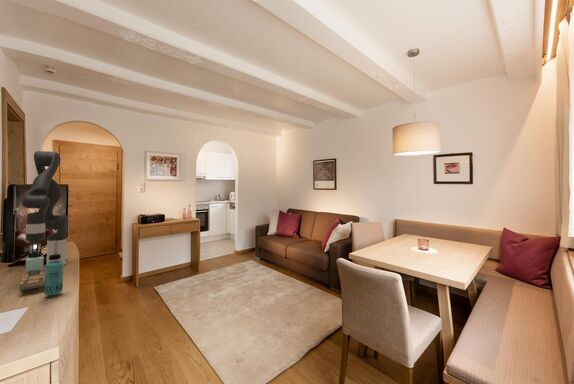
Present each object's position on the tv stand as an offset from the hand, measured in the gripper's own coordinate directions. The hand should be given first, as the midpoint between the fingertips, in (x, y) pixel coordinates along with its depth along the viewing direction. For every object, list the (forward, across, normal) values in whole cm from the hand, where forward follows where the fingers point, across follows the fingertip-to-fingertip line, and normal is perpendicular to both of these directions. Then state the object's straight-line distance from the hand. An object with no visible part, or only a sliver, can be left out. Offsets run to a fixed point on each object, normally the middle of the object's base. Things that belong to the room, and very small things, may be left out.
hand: (34, 263), depth 133 cm
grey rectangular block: (+4, +5, 0) cm, 6 cm away
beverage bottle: (+10, +30, +7) cm, 32 cm away
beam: (+10, +10, 0) cm, 14 cm away
